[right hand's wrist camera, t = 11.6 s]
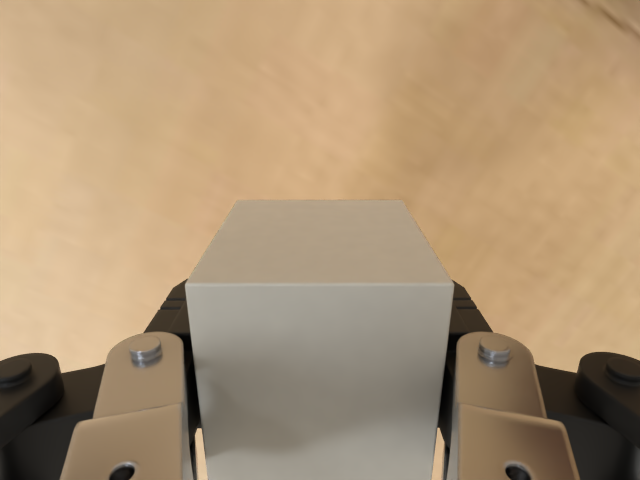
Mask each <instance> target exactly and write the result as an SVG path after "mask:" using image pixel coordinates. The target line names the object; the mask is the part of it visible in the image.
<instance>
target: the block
mask: <svg viewBox="0 0 640 480" xmlns="http://www.w3.org/2000/svg"><path fill="white" fill-rule="evenodd" d="M185 291H186V299H187V307H188V316H189V324H190V333H191V341H192V350H193V358H194V366H195V375H196V383H197V392H198V400H199V408H200V417H201V425H202V434H203V442H204V450H205V459H206V467H207V476H208V480H431V478H432V470H433V461H434V453H435V444H436V436H437V427H438V419H439V410H440V402H441V394H442V385H443V377H444V368H445V360H446V351H447V343H448V334H449V326H450V318H451V309H452V301H453V292H454V283H453V281H452V280H451V278H450V276H449V275H448V273H447V272H446V270H445V268H444V267H443V265H442V264H441V262H440V260H439V259H438V257H437V256H436V254H435V252H434V251H433V249H432V247H431V246H430V244H429V243H428V241H427V239H426V238H425V236H424V235H423V233H422V231H421V230H420V228H419V227H418V225H417V223H416V222H415V220H414V219H413V217H412V215H411V214H410V212H409V210H408V209H407V207H406V206H405V204H404V202H403V201H402V200H237V201H236V203H235V205H234V206H233V208H232V209H231V211H230V213H229V214H228V216H227V217H226V219H225V221H224V222H223V224H222V225H221V227H220V229H219V230H218V232H217V234H216V235H215V237H214V238H213V240H212V242H211V243H210V245H209V246H208V248H207V250H206V251H205V253H204V254H203V256H202V258H201V259H200V261H199V262H198V264H197V266H196V267H195V269H194V270H193V272H192V274H191V275H190V277H189V278H188V280H187V282H186V283H185Z"/></svg>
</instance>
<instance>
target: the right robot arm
mask: <svg viewBox="0 0 640 480" xmlns="http://www.w3.org/2000/svg"><path fill="white" fill-rule="evenodd" d="M187 280H188V279H186V280H185V281H183V282H182V283H180V284H179V285H177V286H175V287H174V288H173V289H172V291H171V292H170V294H169V295H168V297H167V298H166V301H164V303H163V304H162V306H161V307H160V310H158V312H157V313H156V315H155V316H154V318H153V319H152V321H151V322H150V324H149V325H148V327H147V328H146V330H145V331H144V333H142V334H138V335H135V336H132V337H129V338H127V339H125V340H123V341H122V342H120V343H118V344H117V345H116V346H114V347H113V348H112V349H111V351H110V352H109V354H108V356H107V359H106V364H103V365H100V366H96V367H91V368H87V369H81V370H76V371H71V372H66V373H61V371H60V367H59V363H58V360H57V359H56V358H55V357H53V356H52V355H49V354H44V353H29V354H23V355H18V356H14V357H11V358H7V359H5V360H2V361H0V480H198V462H197V449H196V441H195V433H196V430H197V428H202V425H201V417H200V408H199V400H198V392H197V383H196V375H195V366H194V358H193V350H192V341H191V333H190V324H189V316H188V307H187V299H186V291H185V283H186V282H187ZM451 280H452V279H451ZM452 281H453V280H452ZM453 283H454V292H453V301H452V309H451V318H450V326H449V334H448V343H447V351H446V360H445V368H444V377H443V385H442V394H441V402H440V410H439V419H438V427H437V428H440V430H441V434H442V437H443V439H444V449H443V462H442V480H640V361H639V360H637V359H634V358H631V357H628V356H625V355H621V354H616V353H610V352H594V353H589V354H586V355H585V356H583V357H582V358H581V360H580V363H579V367H578V371H577V373H574V372H568V371H563V370H558V369H553V368H548V367H543V366H539V365H535V364H534V359H533V356H532V354H531V352H530V351H529V349H528V348H527V347H526V346H524V345H523V344H522V343H520V342H518V341H517V340H515V339H513V338H511V337H508V336H505V335H502V334H498V333H493V331H492V330H491V328H490V327H489V325H488V323H487V322H486V320H485V319H484V317H483V316H482V314H481V313H480V311H479V310H478V309H477V307H476V305H475V304H474V302H473V301H472V300H471V297H470V296H469V294H468V293H467V291H466V290H465V288H464V287H462V286H461V285H459V284H458V283H456V282H455V281H453Z"/></svg>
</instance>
